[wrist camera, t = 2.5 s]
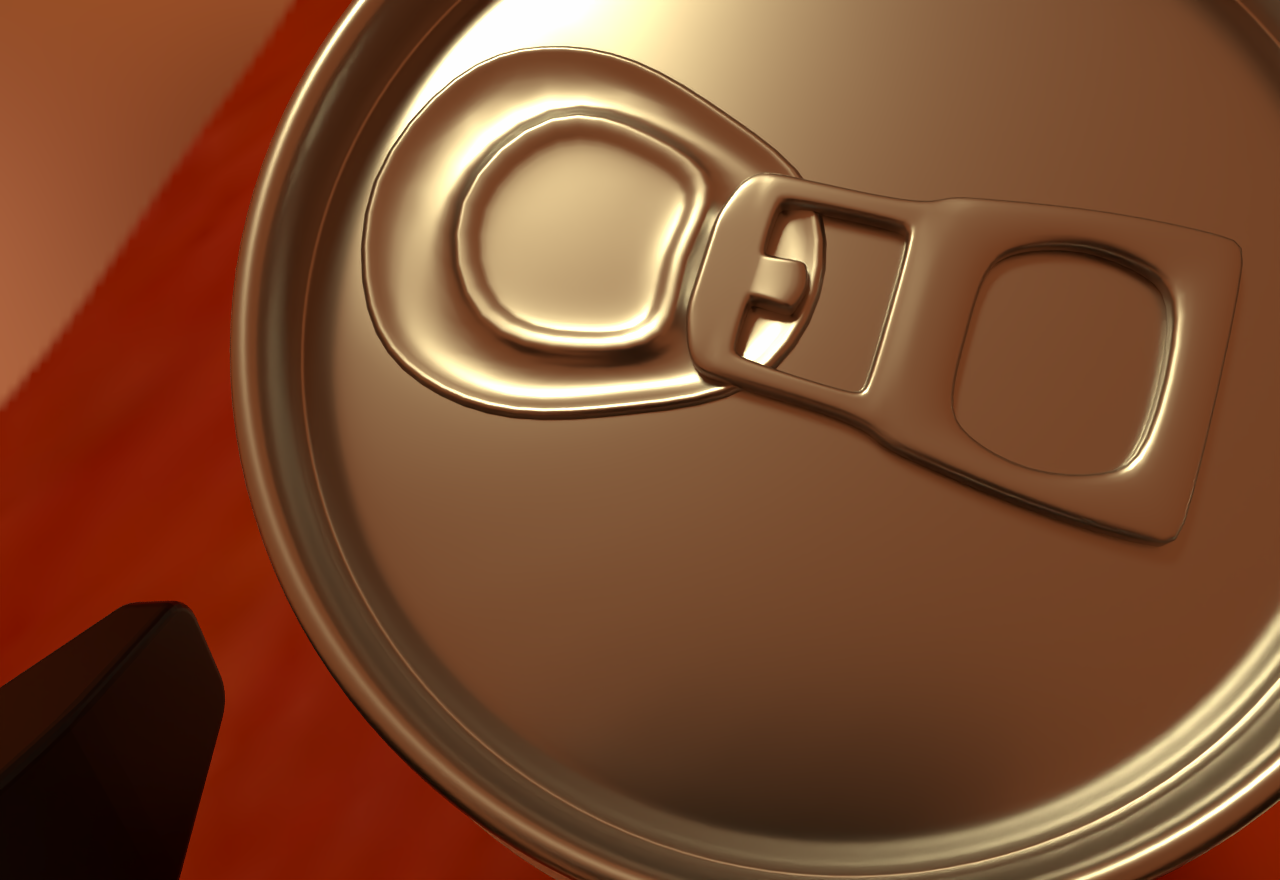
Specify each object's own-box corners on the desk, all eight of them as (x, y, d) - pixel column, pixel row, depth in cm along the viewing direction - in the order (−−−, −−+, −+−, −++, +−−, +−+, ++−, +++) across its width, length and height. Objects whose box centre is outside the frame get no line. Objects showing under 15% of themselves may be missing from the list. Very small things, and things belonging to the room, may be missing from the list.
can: (646, 315, 18) (410, -401, 6) (1047, 422, 16) (1718, -201, 5) (517, 704, 16) (-82, 757, 5) (940, 847, 15) (1480, 1364, 4)
